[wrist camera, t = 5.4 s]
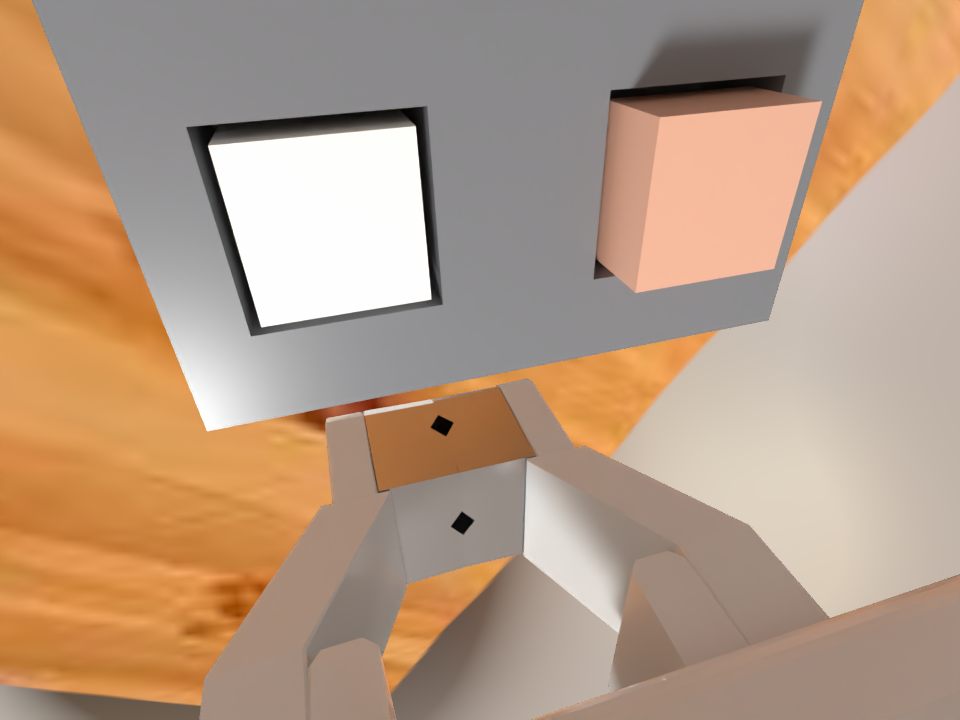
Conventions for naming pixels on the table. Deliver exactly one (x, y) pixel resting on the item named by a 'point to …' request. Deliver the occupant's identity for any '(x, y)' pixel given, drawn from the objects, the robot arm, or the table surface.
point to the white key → (325, 212)
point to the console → (421, 169)
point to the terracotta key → (700, 183)
